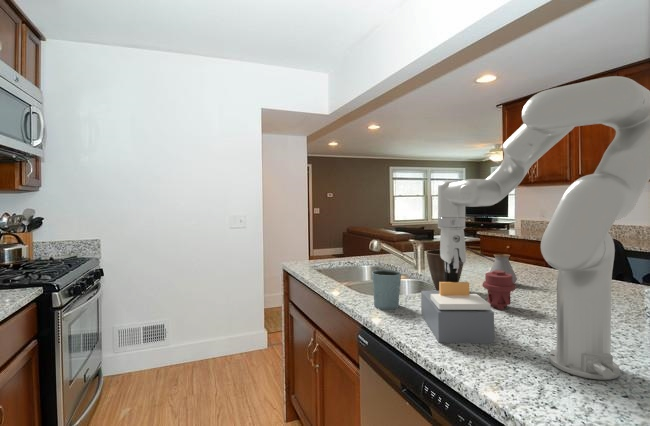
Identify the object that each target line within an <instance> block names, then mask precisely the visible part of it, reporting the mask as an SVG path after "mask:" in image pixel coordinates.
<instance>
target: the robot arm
mask: <svg viewBox="0 0 650 426" xmlns="http://www.w3.org/2000/svg"><path fill="white" fill-rule="evenodd" d="M521 120H522V124H521V125H520V127H519V128H518V129H516V130H515V131H514V132H513V133H512V134H511V135H510V136H509V137H508V138H507V139H506V140H505V141H504V142H503V144H502V151H503V159H502V160H501V161H502V162H501V164H500V165H499V166H498V167H497V168H496V169H495V171H493V172H492V173H491V174H490V175H489V176H487V178H467V179H462V180H445V181H441V182H439V184H438V185H437V229H439V230H440V239H439V240H440V241H439V244H440V245H439V249H440V256H441V258H442V259H443V260H444V262H445V271H447V272H445V282H458V269H459V262H460V263H462V264H463V265H465V264H466V261H467V259H466V257H467V256H466V255H467V254H466V253H467V251H466V250H465V249H466V236H465V231H464V230H465V229H466V207H469V208H470V207H471V208H473V207H477V208H478V207H491V206H494V205H495V204H498V203H500V202H502V200H503V199H505V198H506V197H507V196H508V195H509V194H511V193H512V191H514V190H515V189H516V188H517V187H518V186H519V185H520V184H521V182H522V181H523V180H524V178H525V177H526V175H527V174H528V173H529V171H530V168H531V167H532V166H533V165H534V164H535V163H536V162H537V161H538V160H539V159H541V157H543V156H544V155H545V154H546V153H547V152H549V150H551V149H552V148H553V147H554V146H555V145H556V144H558V143H559V142H560V141H561V140H562V139H563V138H564V137H566V135H568V134H569V133H570V132H571V131H573V129H574V128H575V127H581V126H590V125H600V124H601V125H604V126H607V127H610V128H612V129H613V130H614V131H615V136H614V137H613V140H612V141H611V142H610V143H609V145H608V146H607V149H606V150H605V151H604V153H603V155H602V157H601V160H600V162H599V163H598V165H597V166H596V168H595V170H594V172H593V173H591V174H586V175H584V176H581V177H579V178H578V179H576V180H574V182H572V183H571V184H570V185H569V186H568V188H566V190H565V191H564V193H563V195H562V196H561V199H560V200H559V202H558V203H557V206H556V208H555V211H553V212H554V213H553V214H552V216H551V218H550V220H549V222H548V225H547V226H546V228H545V231H544V232H543V235H542V237H541V240H540V252H541V256H542V257H543V260H545V262H546V263H547V264H548V265H549V266H551V267H552V268H554V269H555V270H557V276H556V277H557V278H556V349H554V350H551V351H550V352H549V353H548V361H549V362H550V363H551V365H553V366H554V367H555V368H557V369H559V370H561V371H562V372H565V373H568V374H571V375H573V376H576V377H580V378H586V379H590V380H599V381H601V380H603V381H605V380H606V381H608V380H614V379H617V378H618V377H620V375H621V367H620V366H619V364H617V363H616V362H614V355H612V353H611V351H612V350H611V349H612V345H611V344H612V342H611V341H612V340H611V338H612V337H611V335H612V333H611V332H612V331H611V329H612V323H611V322H612V280H613V279H612V278H613V269H614V261H615V252H616V249H615V242H614V239H613V237H612V235H611V234H610V233H609V232H610V230H611V229H612V227H613V225H614V223H615V222H616V221H617V220H621V219H623V218H625V217H627V216H628V215H629V214H631V213H632V212H633V210H634V209H635V207H636V205H637V203H638V202H639V199H640V197H641V196H642V193H643V192H644V190H645V189H646V187H647V185H648V183H649V181H650V90H649V89H648V88H646V87H645V86H643V85H641V84H640V83H639V82H637V81H635V80H634V79H631V78H629V77H625V76H618V75H614V76H604V77H599V78H595V79H590V80H585V81H581V82H577V83H572V84H568V85H563V86H558V87H554V88H553V87H552V88H549V89H545V90H543V91H540V92H538V93H536V94H534V95H532V96H531V97H530V98H529V99H528V100H527V101H526V103H525V104H524V105H523V108H522V110H521Z"/></svg>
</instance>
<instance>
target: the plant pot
mask: <svg viewBox="0 0 650 426" xmlns="http://www.w3.org/2000/svg"><path fill="white" fill-rule="evenodd" d="M425 253H426V260H427V265H428V270H429V274H430V277H431V280H432V283H433V285H434V288H435V291H439V282H445V272H447V271H445V262H444V260H443V259H442V258H441V256H440V248H439V249H430V250H427V251H426V252H425ZM463 268H464V264H462V263H460V262H459V269H458V282H460V279H461V276H462V272H463Z"/></svg>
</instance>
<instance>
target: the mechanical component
mask: <svg viewBox="0 0 650 426" xmlns="http://www.w3.org/2000/svg"><path fill="white" fill-rule="evenodd" d="M482 288H484V290H487V302H488V303H490V304H491V307H492V308H496V309H498V310H499V311H503V310H504V309H505V308H506V307H508V306H510V305H511V292H514V291H516V284H515V283H514V284H513V276H512V275H511V274H508V273H506V272H504V271H499V270H495V271H492V272H490V271H489V272H485V280H484V281H483V282H482Z"/></svg>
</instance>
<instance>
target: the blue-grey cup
mask: <svg viewBox="0 0 650 426" xmlns="http://www.w3.org/2000/svg"><path fill="white" fill-rule="evenodd" d="M371 276H372V277H371V278H372V286H373V287H372V290H373V291H372V292H373V305H374V307H375V308H376V309H379V310H386V311H387V310H395V309H398V308H399V306H400V304H399V303H400V291H401V290H400V287H401V281H402V272H400V271H398V270H392V269H377V270H373V271H371Z"/></svg>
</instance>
